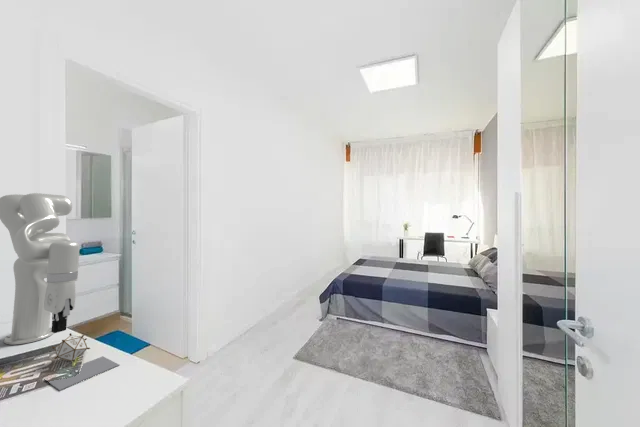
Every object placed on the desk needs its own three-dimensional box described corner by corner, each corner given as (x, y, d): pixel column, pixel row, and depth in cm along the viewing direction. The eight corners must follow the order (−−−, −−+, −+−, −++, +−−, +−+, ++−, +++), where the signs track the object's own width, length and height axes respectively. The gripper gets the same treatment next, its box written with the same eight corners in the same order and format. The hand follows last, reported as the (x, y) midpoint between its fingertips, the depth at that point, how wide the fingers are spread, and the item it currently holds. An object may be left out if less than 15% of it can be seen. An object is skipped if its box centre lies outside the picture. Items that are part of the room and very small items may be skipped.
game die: (78, 369, 84) (103, 342, 86) (51, 374, 76) (79, 344, 79) (64, 351, 86) (88, 325, 89) (36, 354, 78) (64, 325, 81)
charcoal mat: (43, 379, 72) (43, 378, 72) (102, 357, 85) (102, 356, 85) (59, 391, 68) (59, 389, 68) (119, 365, 80) (119, 364, 81)
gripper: (38, 276, 87) (34, 331, 86) (57, 281, 81) (53, 340, 80) (67, 273, 94) (63, 323, 93) (87, 277, 88) (83, 331, 87)
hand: (58, 331), depth 87 cm, fingers closed
